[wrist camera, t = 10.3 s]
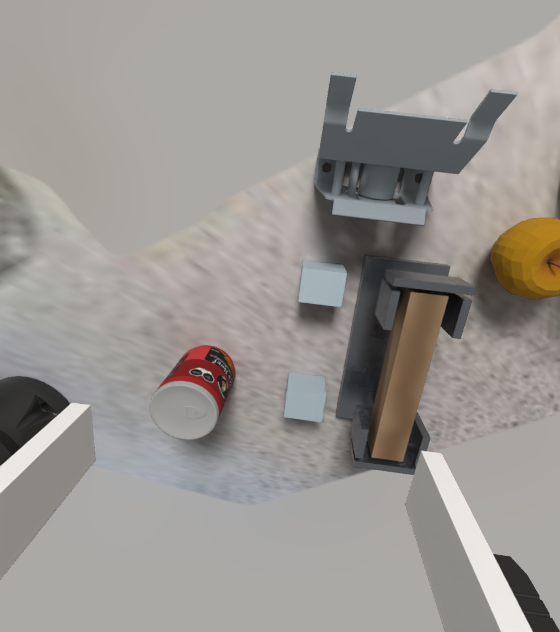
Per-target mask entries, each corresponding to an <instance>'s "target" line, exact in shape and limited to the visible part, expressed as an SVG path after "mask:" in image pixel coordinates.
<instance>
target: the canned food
mask: <svg viewBox="0 0 560 632" xmlns="http://www.w3.org/2000/svg"><path fill="white" fill-rule="evenodd" d="M234 377H235V369H234V364H233V362H232V360H231V358H230V357H229V356H228V355H227V353H225V352H224V351H223V350H221V349H219V348H217V347H213V346H199V347H196V348H193V349H191V350H189V351H188V352H187V353H186V354H185V355H184V356H183V357H182V358H181V360H180V361H179V362H178V363H177V365H176V366H175V367H174V369H173V370H172V371H171V372H170V374H169V375H168V376H167V378H166V379H165V380H164V381H163V383H162V384H161V385H160V386H159V388H158V389H157V391H156V392H155V394H154V396H153V397H152V399H151V403H150V413H151V417H152V419H153V421H154V423H155V424H156V425H157V427H159V428H160V429H161V430H162V431H163V432H165V433H166V434H168V435H170V436H172V437H174V438H178V439H183V440H194V439H199V438H201V437H204V436H205V435H207V434H209V433H210V432H211V431H212V430H213V428H214V426H215V425H216V423H217V421H218V418H219V416H220V414H221V411H222V409H223V406H224V404H225V401H226V398H227V396H228V393H229V391H230V388H231V386H232V383H233V380H234Z"/></svg>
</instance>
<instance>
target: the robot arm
mask: <svg viewBox="0 0 560 632" xmlns="http://www.w3.org/2000/svg"><path fill="white" fill-rule="evenodd" d="M95 461H96V458H95V447H94V436H93V425H92V414H91V405H85V404H78V403H71V404H69V402H68V401H67V400H66V399H65V398H64V397H63V396H62V395H61V394H60V393H59V392H58V391H57V390H55V389H54V388H52V387H51V386H49V385H48V384H46V383H44V382H41V381H39V380H36V379H33V378H29V377H21V376H16V377H8V378H5V379H2V380H0V580H1V578H2V577H3V576H4V575H5V574H6V572H7V571H8V570H9V569H10V567H11V566H12V564H14V562H15V561H16V559H17V558H18V557H19V556H20V554H21V553H22V552H23V551H24V550H25V548H26V547H27V546H28V545H29V543H30V542H31V541H32V540H33V538H34V537H35V536H36V535H37V533H38V532H39V531H40V530H41V528H42V527H43V526H44V525H45V523H46V522H47V521H48V520H49V518H50V517H51V516H52V514H53V513H54V512H55V511H56V509H57V508H58V507H59V506H60V504H61V503H62V502H63V501H64V499H65V498H66V497H67V496H68V494H69V493H70V492H71V491H72V489H73V488H74V487H75V485H76V484H77V483H78V482H79V481H80V479H81V478H82V477H83V476H84V474H85V473H86V472H87V471H88V469H89V468H90V467H91V466H92V464H93V463H94V462H95ZM405 506H406V509H407V512H408V515H409V518H410V521H411V525H412V528H413V532H414V535H415V538H416V541H417V544H418V548H419V551H420V554H421V557H422V560H423V564H424V567H425V570H426V573H427V576H428V580H429V583H430V586H431V589H432V592H433V596H434V599H435V602H436V605H437V608H438V612H439V614H440V618H441V621H442V624H443V627H444V631H445V632H560V631H559V629H558V627H557V626H556V624H555V622H554V621H553V619H552V618H550V615H549V612H548V610H547V608H546V607H545V605H544V603H543V601H542V600H540V598H539V594H538V593H537V591H536V589H535V587H534V586H533V584H532V582H531V580H530V579H529V577H528V575H527V574H526V573H525V572H524V571H523V570H522V569H521V568H520V567H519V565H518V564H517V563H516V562H515V561H514V560H513V559H512V558H511V557H510V556H503V555H496V554H493V553H492V551H491V550H490V548H489V546H488V544H487V542H486V540H485V538H484V536H483V534H482V532H481V530H480V528H479V526H478V524H477V522H476V520H475V518H474V516H473V514H472V513H471V511H470V509H469V507H468V505H467V503H466V501H465V499H464V497H463V495H462V493H461V491H460V489H459V487H458V485H457V483H456V481H455V479H454V478H453V475H452V474H451V472H450V470H449V468H448V466H447V464H446V462H445V460H444V458H443V456H442V454H441V453H434V452H427V451H421V453H420V456H419V460H418V463H417V466H416V470H415V473H414V476H413V480H412V483H411V487H410V490H409V493H408V496H407V500H406V503H405Z"/></svg>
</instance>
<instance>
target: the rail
mask: <svg viewBox="0 0 560 632" xmlns="http://www.w3.org/2000/svg"><path fill="white" fill-rule="evenodd" d="M448 297H449V296H447V295H446V294H444V293H443V292H440V291H432V290H424V289H415V288H407V287H401V288H400V296H399V300H398V305H397V309H396V313H395V318H394V322H393V326H392V330H391V332H390V337H389V341H388V345H387V350H386V354H385V359H384V363H383V367H382V372H381V376H380V381H379V385H378V389H377V394H376V398H375V403H374V407H373V411H372V416H371V420H370V425H369V432H368V436H367V441H368V445H369V449H370V453H371V457H372V458H379V459H387V460H394V461H401V462H403V459H404V455H405V452H406V448H407V445H408V441H409V437H410V434H411V430H412V427H413V423H414V419H415V416H416V412H417V409H418V405H419V401H420V398H421V394H422V391H423V387H424V383H425V380H426V376H427V373H428V369H429V366H430V362H431V358H432V355H433V351H434V348H435V344H436V340H437V337H438V333H439V330H440V326H441V322H442V319H443V315H444V312H445V308H446V304H447V301H448Z"/></svg>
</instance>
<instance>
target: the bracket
mask: <svg viewBox="0 0 560 632" xmlns="http://www.w3.org/2000/svg"><path fill="white" fill-rule="evenodd" d="M356 78H357V75H354V74H344V73H335V72H331V77H330V84H329V90H328V97H327V103H326V110H325V118H324V124H323V131H322V137H321V143H320V149H319V150H318V157H317V164H316V172H315V179H314V185H315V186H316V188H317V189H318V190H319V191H320V192H321V194H322V195H323V196H324V197H325V198H326V199H329V200H330V201H331V202H334V203H333V211H332V215H337V216H345V217H353V218H362V219H370V220H378V221H386V222H395V223H403V224H411V225H419V226H424V223H425V213H426V211H429V212H433V208H432V206H431V204H430V202H429V200H428V198H427V193H428V190H429V186H430V183H431V180H432V176H433V173H434V171H435V172H444V173H453V174H459V173H460V172H461V170H462V169H463V168H464V167H465V166H466V165H467V163H468V162H469V161H470V160H471V159H472V158H473V157H474V155H475V154H476V153H477V152H478V151H479V150H480V148H481V147H482V146H483V145H484V144H485V143H486V141H487V140H488V137H489V135H490V133H491V130H492V128H493V126H494V123H495V121H496V120H497V119H498V117H499V116H500V115H501V114H502V113H503V111H504V110H505V109H506V108H507V107H508V105H509V104H510V103H511V102H512V101H513V99H514V98H515V97H516V96H517V92H513V91H504V90H494V89H491V90H490V91H489V93H488V94H487V95H486V97H485V98H484V100H483V101H482V102H481V104H480V105H479V106H478V108H477V109H476V111H475V112H474V113H473V115H472V116H471V118H470V121H469V123H468V126H467V129H466V131H465V134H464V136H463V138H462V139H461V140H460V141H458V142H455V141H454V140H455V139H456V137H457V136H458V134H459V133H460V132H461V130H462V129H463V128H464V126H465V125H466V123H467V120H462V119H453V118H444V117H435V116H426V115H417V114H408V113H399V112H390V111H380V110H371V109H362V108H358V111H357V115H356V118H355V122H354V125H353V128H352V129H351V130H348V129H346V124H347V118H348V113H349V107H350V102H351V98H352V94H353V90H354V86H355V82H356ZM346 161H349V162H352V167H351V173H350V178H349V183H348V187H347V186H342V181H343V176H344V170H345V164H346ZM324 163H330V164H331V170H330V171H329V172H324V171H323V169H322V166H323V164H324ZM361 163H364V166H363V171H362V176H361V181H360V186H359V188H356V185H357V180H358V175H359V170H360V165H361ZM400 168H405V170H404V175H403V179H402V184H401V189H400V193H398V192H395V188H396V184H397V180H398V176H399V172H400ZM419 173H421V174H422V175H423V176H422V179H421V183H417V182H416V181H415V176H416V175H417V174H419ZM345 190H347V193H346V192H345ZM393 196H397V197H400V198H401V200H402V201H403V203H404V204H405V205H399V204H395V203H396V202H395V200H394V198H393Z"/></svg>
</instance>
